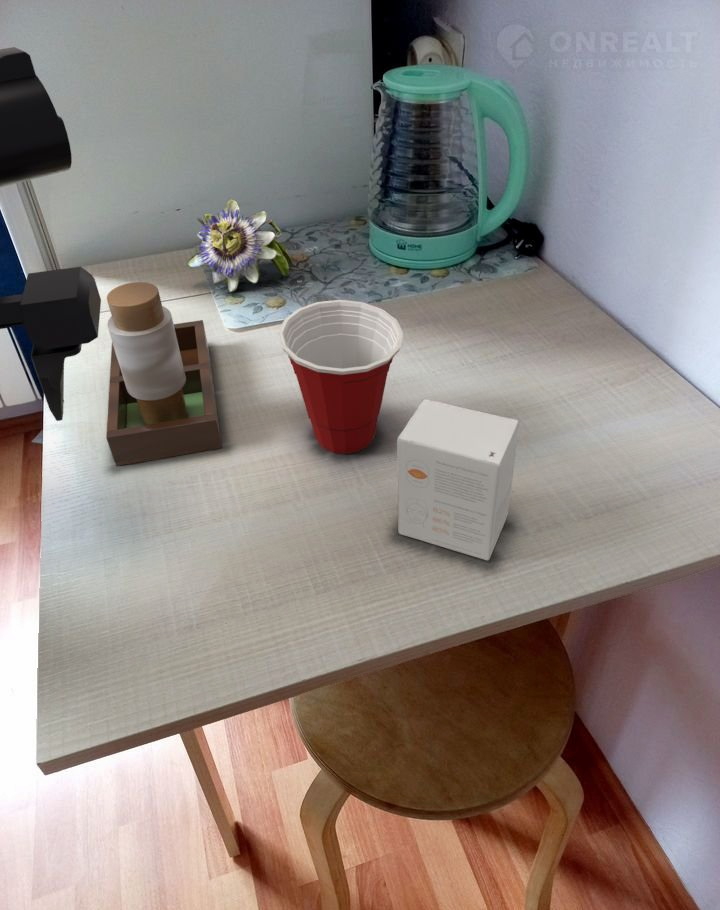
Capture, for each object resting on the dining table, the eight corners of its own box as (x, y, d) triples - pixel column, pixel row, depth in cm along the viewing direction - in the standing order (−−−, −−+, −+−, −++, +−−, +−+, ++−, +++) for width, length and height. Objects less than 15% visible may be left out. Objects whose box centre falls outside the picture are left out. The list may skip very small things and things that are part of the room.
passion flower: (240, 325, 96) (173, 269, 88) (243, 275, 103) (180, 218, 95) (304, 283, 91) (239, 219, 83) (302, 233, 98) (242, 170, 90)
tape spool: (164, 445, 68) (128, 316, 58) (126, 425, 70) (85, 298, 61) (206, 415, 71) (178, 288, 62) (168, 397, 73) (136, 273, 64)
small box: (508, 517, 60) (523, 419, 53) (488, 564, 56) (502, 465, 49) (420, 491, 63) (423, 395, 56) (395, 534, 59) (395, 437, 52)
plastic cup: (348, 490, 63) (342, 380, 55) (268, 440, 69) (252, 333, 61) (425, 432, 69) (429, 324, 61) (345, 390, 75) (339, 286, 67)
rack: (222, 448, 68) (216, 419, 66) (116, 466, 67) (106, 437, 64) (208, 346, 82) (202, 319, 80) (120, 359, 81) (112, 332, 78)
